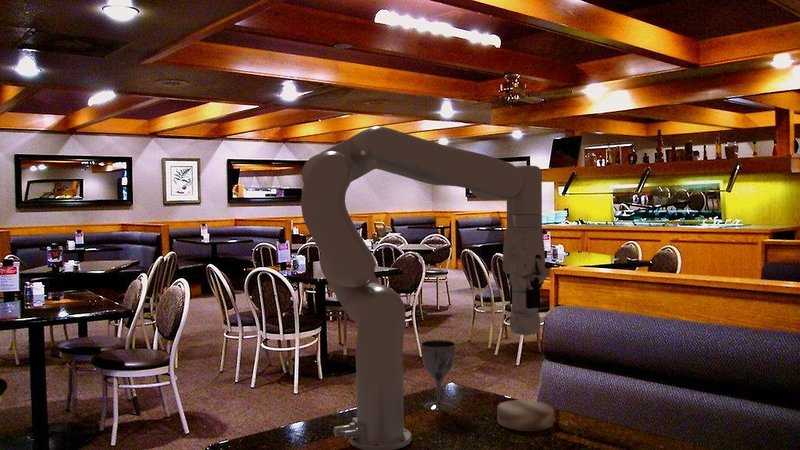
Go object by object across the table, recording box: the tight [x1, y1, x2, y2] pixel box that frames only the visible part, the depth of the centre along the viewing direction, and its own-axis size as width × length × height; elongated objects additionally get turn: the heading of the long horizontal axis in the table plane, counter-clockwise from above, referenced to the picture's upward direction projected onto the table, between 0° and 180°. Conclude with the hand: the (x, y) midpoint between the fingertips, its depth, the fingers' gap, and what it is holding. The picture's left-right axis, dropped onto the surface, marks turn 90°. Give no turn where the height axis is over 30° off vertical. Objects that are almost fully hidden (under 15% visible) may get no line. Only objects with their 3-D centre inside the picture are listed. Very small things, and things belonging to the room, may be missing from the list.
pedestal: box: [496, 399, 554, 432], centre depth 146 cm, size 12×12×3 cm
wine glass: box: [420, 339, 456, 412], centre depth 158 cm, size 8×8×15 cm
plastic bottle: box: [509, 262, 541, 336], centre depth 145 cm, size 6×7×20 cm
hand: (524, 305), depth 146 cm, fingers closed on plastic bottle, 5 cm apart
